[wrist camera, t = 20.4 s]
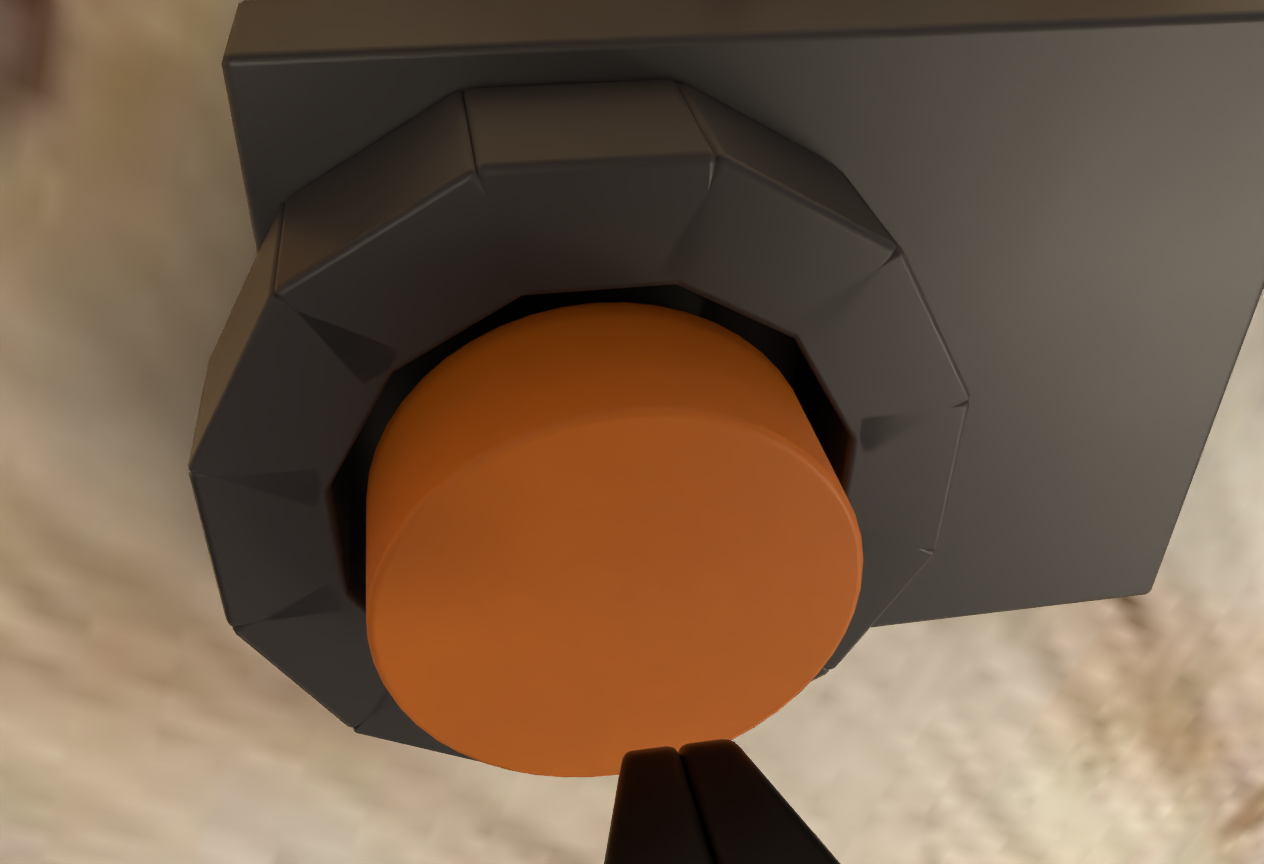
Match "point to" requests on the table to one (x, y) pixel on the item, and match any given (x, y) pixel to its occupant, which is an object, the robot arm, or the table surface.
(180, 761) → the table surface
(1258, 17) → the button base
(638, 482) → the button
